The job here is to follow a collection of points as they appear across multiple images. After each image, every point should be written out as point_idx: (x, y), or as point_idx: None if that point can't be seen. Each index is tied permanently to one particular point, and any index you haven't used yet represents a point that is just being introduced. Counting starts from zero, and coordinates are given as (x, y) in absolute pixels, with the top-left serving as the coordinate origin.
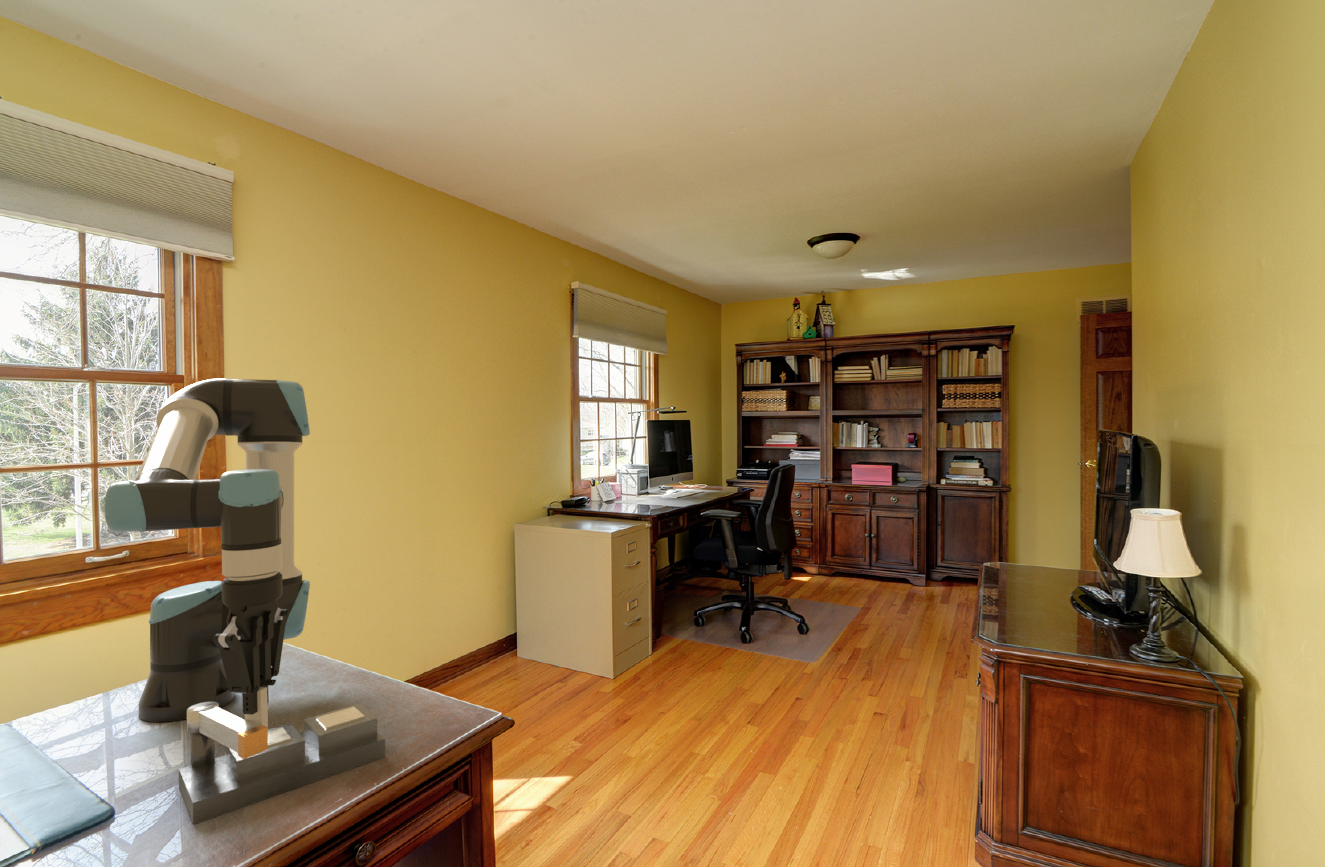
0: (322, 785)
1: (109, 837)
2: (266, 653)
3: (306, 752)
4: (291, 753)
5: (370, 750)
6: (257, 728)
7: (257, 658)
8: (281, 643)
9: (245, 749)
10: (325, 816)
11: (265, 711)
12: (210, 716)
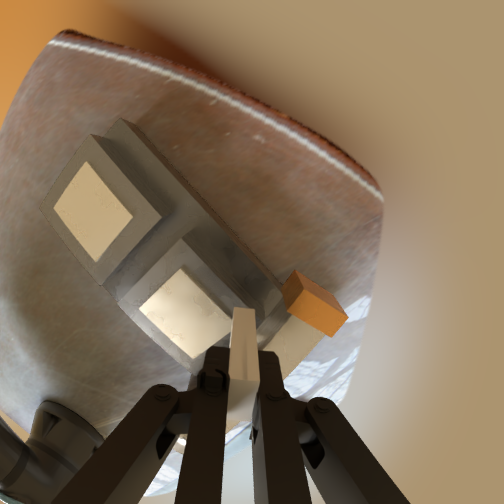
0: (215, 185)
1: (320, 384)
2: (211, 487)
3: (165, 240)
4: (202, 252)
5: (140, 136)
6: (307, 310)
7: (280, 489)
8: (95, 468)
9: (335, 301)
10: (304, 141)
11: (240, 334)
12: (232, 424)
